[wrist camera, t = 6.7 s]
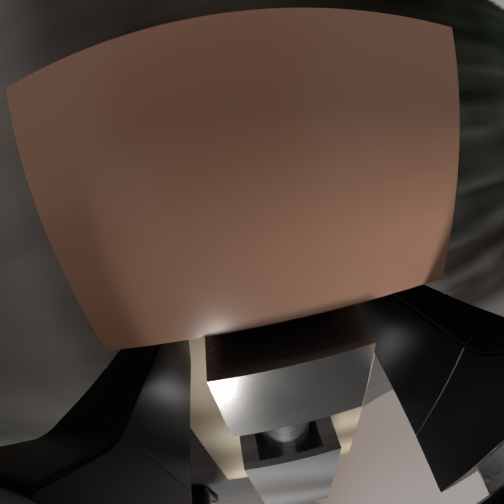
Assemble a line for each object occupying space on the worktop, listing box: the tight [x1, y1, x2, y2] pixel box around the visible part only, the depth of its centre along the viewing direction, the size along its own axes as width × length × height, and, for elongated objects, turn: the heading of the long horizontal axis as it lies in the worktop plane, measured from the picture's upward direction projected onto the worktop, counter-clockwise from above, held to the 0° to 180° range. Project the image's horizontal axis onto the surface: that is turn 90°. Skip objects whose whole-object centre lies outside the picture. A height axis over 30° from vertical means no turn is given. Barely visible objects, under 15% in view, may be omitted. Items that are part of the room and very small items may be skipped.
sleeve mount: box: [189, 337, 375, 504], centre depth 15 cm, size 23×11×5 cm, turn 8°
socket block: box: [6, 8, 459, 351], centre depth 7 cm, size 5×7×6 cm
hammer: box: [205, 305, 376, 459], centre depth 10 cm, size 18×3×6 cm, turn 8°
